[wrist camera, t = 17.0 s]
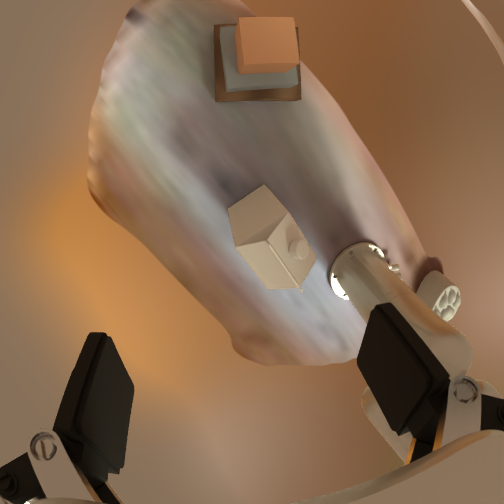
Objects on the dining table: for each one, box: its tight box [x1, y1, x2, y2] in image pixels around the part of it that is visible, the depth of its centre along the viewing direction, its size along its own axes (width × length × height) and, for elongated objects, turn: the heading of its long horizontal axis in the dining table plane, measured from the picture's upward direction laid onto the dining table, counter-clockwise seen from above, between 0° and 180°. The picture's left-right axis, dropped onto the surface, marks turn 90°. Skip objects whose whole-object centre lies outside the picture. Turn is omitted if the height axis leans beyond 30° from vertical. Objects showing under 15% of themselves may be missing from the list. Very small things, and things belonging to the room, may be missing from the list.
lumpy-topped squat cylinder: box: [416, 270, 461, 322], centre depth 56 cm, size 10×13×9 cm
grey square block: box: [220, 26, 298, 93], centre depth 30 cm, size 9×9×4 cm
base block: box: [214, 24, 301, 102], centre depth 34 cm, size 12×12×4 cm
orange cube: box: [234, 17, 300, 75], centre depth 25 cm, size 6×6×6 cm
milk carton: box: [228, 184, 317, 293], centre depth 37 cm, size 7×7×19 cm
